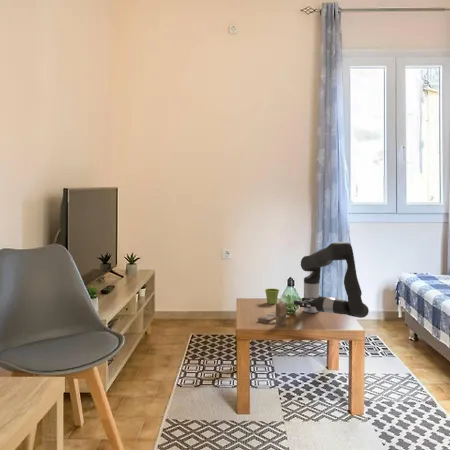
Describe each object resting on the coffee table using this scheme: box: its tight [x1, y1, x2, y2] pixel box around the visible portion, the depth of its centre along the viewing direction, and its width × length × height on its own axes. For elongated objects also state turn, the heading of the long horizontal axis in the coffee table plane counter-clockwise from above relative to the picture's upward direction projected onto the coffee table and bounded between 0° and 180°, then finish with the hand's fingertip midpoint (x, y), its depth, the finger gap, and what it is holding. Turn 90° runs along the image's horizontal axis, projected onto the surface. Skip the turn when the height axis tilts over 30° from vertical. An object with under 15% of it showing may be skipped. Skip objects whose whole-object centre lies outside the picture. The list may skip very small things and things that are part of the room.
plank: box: [275, 301, 287, 328], centre depth 252 cm, size 4×5×12 cm
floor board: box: [257, 311, 290, 325], centre depth 264 cm, size 18×10×2 cm, turn 143°
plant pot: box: [264, 288, 280, 305], centre depth 304 cm, size 9×9×9 cm
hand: (298, 301), depth 245 cm, fingers open, 8 cm apart
